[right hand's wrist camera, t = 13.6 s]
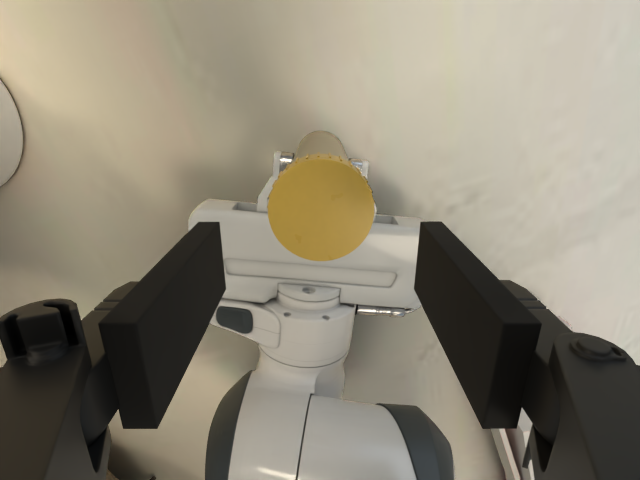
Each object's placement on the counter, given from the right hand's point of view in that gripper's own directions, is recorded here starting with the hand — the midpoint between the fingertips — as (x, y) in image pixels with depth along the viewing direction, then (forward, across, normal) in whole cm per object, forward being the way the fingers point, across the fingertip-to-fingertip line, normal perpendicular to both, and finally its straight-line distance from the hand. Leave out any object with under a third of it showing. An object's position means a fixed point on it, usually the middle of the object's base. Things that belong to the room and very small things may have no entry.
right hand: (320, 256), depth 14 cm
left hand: (+17, 0, -1) cm, 17 cm away
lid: (+5, 0, 0) cm, 5 cm away
